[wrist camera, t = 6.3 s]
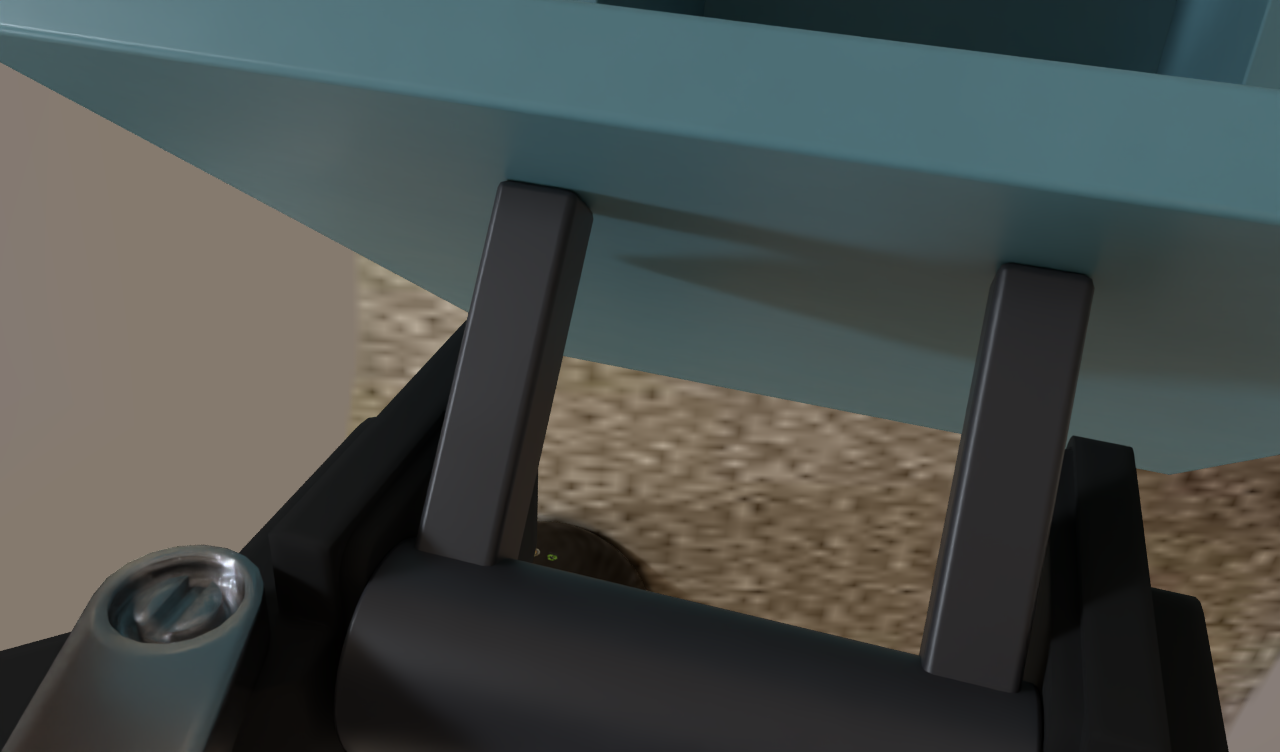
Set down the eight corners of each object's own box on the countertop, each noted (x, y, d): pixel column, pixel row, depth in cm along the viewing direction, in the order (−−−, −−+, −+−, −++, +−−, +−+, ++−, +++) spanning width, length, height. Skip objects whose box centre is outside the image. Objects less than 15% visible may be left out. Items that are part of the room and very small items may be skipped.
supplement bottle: (664, 676, 42) (550, 972, 32) (492, 651, 44) (334, 923, 34) (650, 521, 39) (519, 797, 29) (464, 502, 41) (282, 754, 31)
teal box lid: (-59, -84, 9) (-268, 671, 8) (2013, 175, 6) (1878, 1334, 5) (547, 314, 25) (487, 577, 24) (1179, 433, 22) (1127, 732, 21)
